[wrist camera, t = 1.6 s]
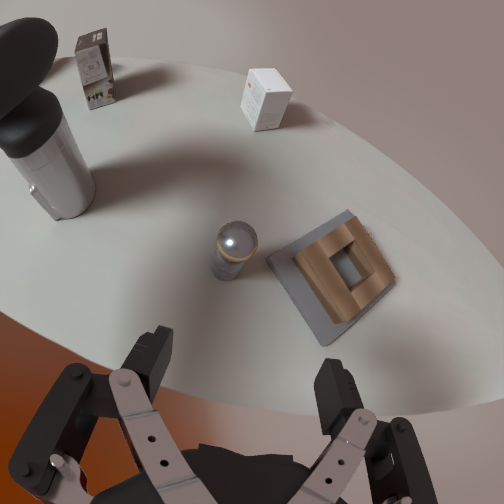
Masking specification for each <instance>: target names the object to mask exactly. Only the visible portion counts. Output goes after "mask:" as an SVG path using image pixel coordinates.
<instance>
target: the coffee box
mask: <svg viewBox="0 0 504 504" xmlns="http://www.w3.org/2000/svg"><path fill="white" fill-rule="evenodd" d="M75 57H76V61H77V66H78V70H79V74H80V78H81V82H82V86H83V90H84V93H85V97H86V100H87V104H88V107H89V110H91V109H94V108H98V107H101V106H104V105H107V104H111V103H114V102H115V92H114V79H113V72H112V66H111V60H110V53H109V46H108V38H107V29H106V28H104V29H100V30H97V31H94V32H91V33H88V34H86V35H83V36H80V37H79V38H78V41H77V45H76V49H75Z"/></svg>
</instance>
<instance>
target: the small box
mask: <svg viewBox="0 0 504 504" xmlns="http://www.w3.org/2000/svg"><path fill="white" fill-rule="evenodd" d="M292 93H293V90H292V89H291V88H290V87H289V85H288V84H287V83H286V81H285V80H284V79H283V78H282V76H281V75H280V74H279V73H278V72H277V71H276V69H273V68H271V69H270V68H268V69H250V70H249V73H248V77H247V81H246V85H245V89H244V93H243V98H242V102H241V106H240V107H241V109H242V110H243V112H244V114H245V116H246V117H247V119H248V121H249V123H250V125H251V126H252V128H253V130H254V131H259V130H266V129H274V128H278V127H279V125H280V122H281V120H282V117H283V115H284V112H285V110H286V107H287V105H288V103H289V100H290V98H291V95H292Z"/></svg>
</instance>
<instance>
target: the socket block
mask: <svg viewBox="0 0 504 504" xmlns="http://www.w3.org/2000/svg"><path fill="white" fill-rule="evenodd" d="M342 248H343V249H344V251H345V252H346V254H347V256H348V257H349V259H350V260H351V262H352V263H353V265H354V266H355V268H356V270H357V271H358V273H359V274H360V276H361V279H360V280H358V281H357V282H356V283H355V284H354V285H352V286H351V287H350V288H349V289H348V288H347V286H346V284H345V283H344V281H343V280H342V278H341V276H340V275H339V273H338V272H337V270H336V269H335V267H334V266H333V264H332V262H331V261H330V259H329V257H331V256H332V255H333V254H335V253H336V252H338V251H339V250H341V249H342ZM292 260H293V261H294V263H295V264H296V266H297V267H298V269H299V270H300V272H301V274H302V275H303V277H304V278H305V280H306V281H307V283H308V284H309V286H310V287H311V289H312V291H313V292H314V294H315V295H316V297H317V298H318V300H319V302H320V303H321V305H322V306H323V308H324V309H325V311H326V313H327V314H328V316H329V317H330V319H331V321H332V322H333V324H338V323H344V322H348V321H349V320H350V319H351V318H352V317H354V316H355V315H356V314H357V313H358V312H359V311H360V310H362V309H363V308H364V307H365V306H366V305H367V304H368V303H369V302H370V301H371V300H373V299H374V298H375V297H376V296H377V295H378V294H379V293H380V292H381V291H382V290H383V289H384V288H385V287H386V286H387V285H388V284H389V283H390V282H391V281H392V280H393V279H394V278H395V276H394V275H393V273H392V271H391V270H390V268H389V266H388V265H387V263H386V261H385V260H384V258H383V256H382V255H381V253H380V252H379V250H378V249H377V247H376V245H375V244H374V242H373V241H372V239H371V238H370V236H369V235H368V233H367V232H366V230H365V229H364V227H363V226H362V224H361V223H360V221H359V220H358V218H357V217H356V216H355V217H353V218H351V219H350V220H348V221H347V222H345V223H344V224H342V225H340V226H339V227H337V228H336V229H334V230H333V231H331V232H329V233H328V234H326V235H325V236H323V237H322V238H320V239H318V240H317V241H315V242H314V243H312V244H310V245H309V246H307V247H306V248H304V249H302V250H301V251H300V252H299V253H298V254H296V255H295V256H294V257H293V258H292Z"/></svg>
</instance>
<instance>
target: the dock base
mask: <svg viewBox="0 0 504 504" xmlns="http://www.w3.org/2000/svg"><path fill="white" fill-rule="evenodd" d="M351 218H353V216H352V214H351V213H350V211H349V210H346V211H345V212H343V213H341V214H340V215H338V216H336V217H335V218H333V219H331V220H330V221H328V222H326V223H325V224H323V225H321V226H320V227H318V228H316V229H315V230H313V231H311V232H310V233H308V234H306V235H305V236H303V237H301V238H300V239H298V240H296V241H295V242H293V243H291V244H290V245H288V246H286V247H285V248H283V249H281V250H279V251H278V252H276V253H274V254H273V255H271V256H269V257H268V258H267V259H266V260H267V262H268V264H269V265H270V267H271V268H272V270H273V271H274V273H275V274H276V276H277V277H278V279H279V281H280V282H281V284H282V285H283V287H284V288H285V290H286V291H287V293H288V294H289V296H290V298H291V299H292V301H293V302H294V304H295V305H296V307H297V308H298V310H299V312H300V313H301V315H302V316H303V318H304V319H305V321H306V322H307V324H308V326H309V327H310V329H311V330H312V332H313V333H314V335H315V337H316V338H317V340H318V341H319V343H320V344H321V346H327V345H328V344H330V343H331V342H332V341H333V340H335V339H336V338H337V337H338V336H339V335H341V334H342V333H343V332H344V331H345V330H346V329H348V328H349V327H350V326H351V325H352V324H353V323H354V322H356V321H357V320H358V319H359V318H360V317H361V316H362V315H363V314H364V313H366V312H367V311H368V310H369V309H370V308H371V307H372V306H373V305H374V304H375V303H376V302H377V301H378V300H379V299H380V298H381V297H383V296H384V295H385V294H386V293H387V292H388V291H389V290H390V289H391V288H392V287H393V286H394V285H395V284H396V283H395V282H394V280H392V281H391V282H390V283H389V284H388V285H387V286H386V287H385V288H384V289H383V290H382V291H381V292H380V293H379V294H378V295H377V296H376V297H375V298H374V299H373V300H371V301H370V302H369V303H368V304H367V305H366V306H365V307H364V308H363V309H362V310H360V311H359V312H358V313H357V314H356V315H355V316H354V317H352V318H351V319H350V320H349V321H348V322H344V323H338V324H333V322H332V321H331V319H330V317H329V316H328V314H327V313H326V311H325V309H324V308H323V306H322V305H321V303H320V302H319V300H318V298H317V297H316V295H315V294H314V292H313V291H312V289H311V287H310V286H309V284H308V283H307V281H306V280H305V278H304V277H303V275H302V274H301V272H300V270H299V269H298V267H297V266H296V264H295V263H294V261H293V260H292V258H293V257H294V256H295V255H296V254H298V253H299V252H300V251H301V250H302V249H304V248H306V247H307V246H309V245H310V244H312V243H314V242H315V241H317V240H318V239H320V238H322V237H323V236H325V235H326V234H328V233H329V232H331V231H333V230H334V229H336V228H337V227H339V226H340V225H342V224H344V223H345V222H347V221H348V220H350V219H351ZM329 259H330V261H331V262H332V264H333V266H334V267H335V269H336V270H337V272H338V273H339V275H340V276H341V278H342V280H343V281H344V283H345V284H346V286H347V288H348V289H349V288H350V287H351V286H352V285H354V284H355V283H356V282H357V281H358V280H360V279H361V276H360V274H359V273H358V271H357V270H356V268H355V266H354V265H353V263H352V262H351V260H350V259H349V257H348V256H347V254H346V252H345V251H344V249H343V248H342V249H341V250H339V251H338V252H336V253H335V254H333V255H332V256H331V257H329Z"/></svg>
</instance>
